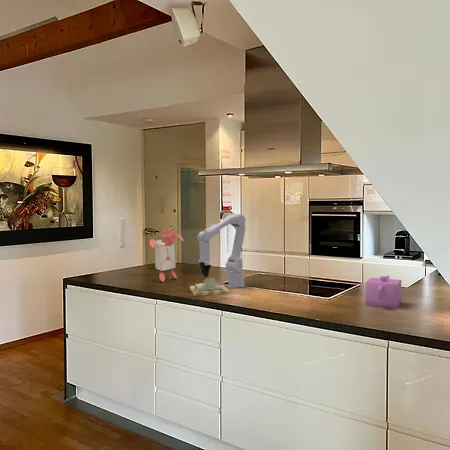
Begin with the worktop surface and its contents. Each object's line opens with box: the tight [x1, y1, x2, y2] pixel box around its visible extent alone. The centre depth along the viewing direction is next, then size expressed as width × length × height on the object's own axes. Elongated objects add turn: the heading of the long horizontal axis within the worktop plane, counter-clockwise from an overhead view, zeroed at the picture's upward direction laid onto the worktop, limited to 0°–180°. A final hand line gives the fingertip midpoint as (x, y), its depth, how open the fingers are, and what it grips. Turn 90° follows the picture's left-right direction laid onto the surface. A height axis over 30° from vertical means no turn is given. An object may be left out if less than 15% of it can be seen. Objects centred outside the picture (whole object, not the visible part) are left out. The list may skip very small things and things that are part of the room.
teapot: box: [364, 275, 402, 309], centre depth 237 cm, size 15×25×14 cm, turn 152°
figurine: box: [149, 227, 185, 284], centre depth 303 cm, size 15×26×35 cm, turn 136°
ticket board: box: [189, 282, 230, 297], centre depth 274 cm, size 20×20×3 cm
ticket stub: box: [197, 277, 222, 291], centre depth 271 cm, size 14×5×6 cm, turn 101°
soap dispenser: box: [154, 239, 177, 272], centre depth 352 cm, size 15×14×22 cm
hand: (205, 275), depth 271 cm, fingers open, 7 cm apart
